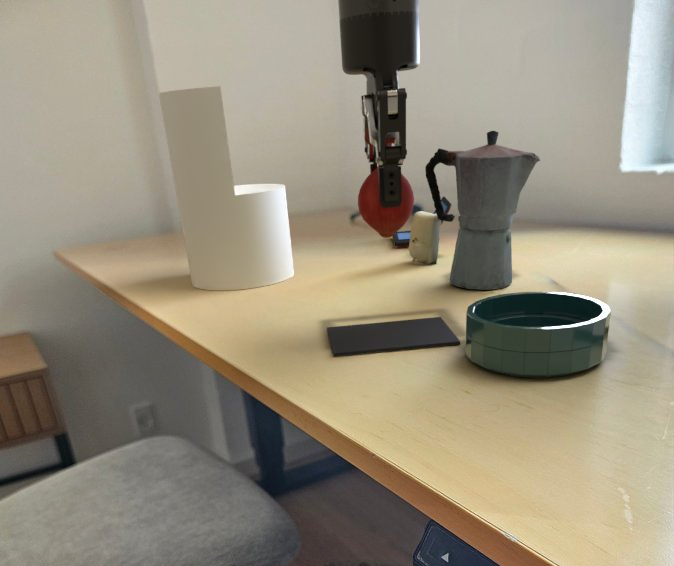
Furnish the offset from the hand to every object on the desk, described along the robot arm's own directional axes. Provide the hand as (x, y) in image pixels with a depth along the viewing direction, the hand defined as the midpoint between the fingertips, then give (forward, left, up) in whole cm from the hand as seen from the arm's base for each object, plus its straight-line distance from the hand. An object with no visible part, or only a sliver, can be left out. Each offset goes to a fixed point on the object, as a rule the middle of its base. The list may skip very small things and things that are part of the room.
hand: (386, 202), depth 69 cm
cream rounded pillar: (-12, -39, -15) cm, 43 cm away
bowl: (-13, +11, -15) cm, 22 cm away
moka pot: (-16, -21, -15) cm, 30 cm away
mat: (0, 0, -15) cm, 15 cm away
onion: (0, 0, -4) cm, 4 cm away
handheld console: (-15, -59, -15) cm, 63 cm away
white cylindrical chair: (+19, -40, -15) cm, 47 cm away
